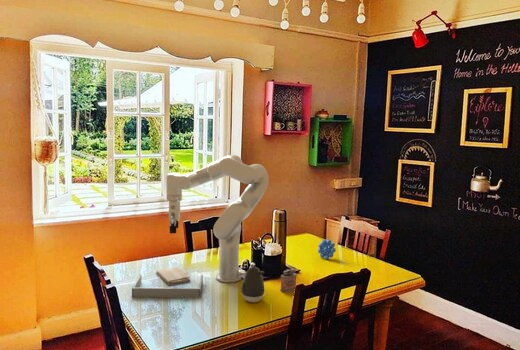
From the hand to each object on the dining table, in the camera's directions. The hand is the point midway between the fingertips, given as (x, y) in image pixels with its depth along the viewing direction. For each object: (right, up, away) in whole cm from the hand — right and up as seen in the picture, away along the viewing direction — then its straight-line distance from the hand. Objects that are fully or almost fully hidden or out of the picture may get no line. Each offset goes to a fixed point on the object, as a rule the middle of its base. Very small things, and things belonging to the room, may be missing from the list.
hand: (174, 230), depth 222 cm
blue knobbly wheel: (+82, -20, +28) cm, 89 cm away
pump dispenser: (+40, -27, -30) cm, 57 cm away
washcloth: (+1, -23, -7) cm, 24 cm away
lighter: (+57, -26, -18) cm, 65 cm away
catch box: (+2, -24, -22) cm, 33 cm away
